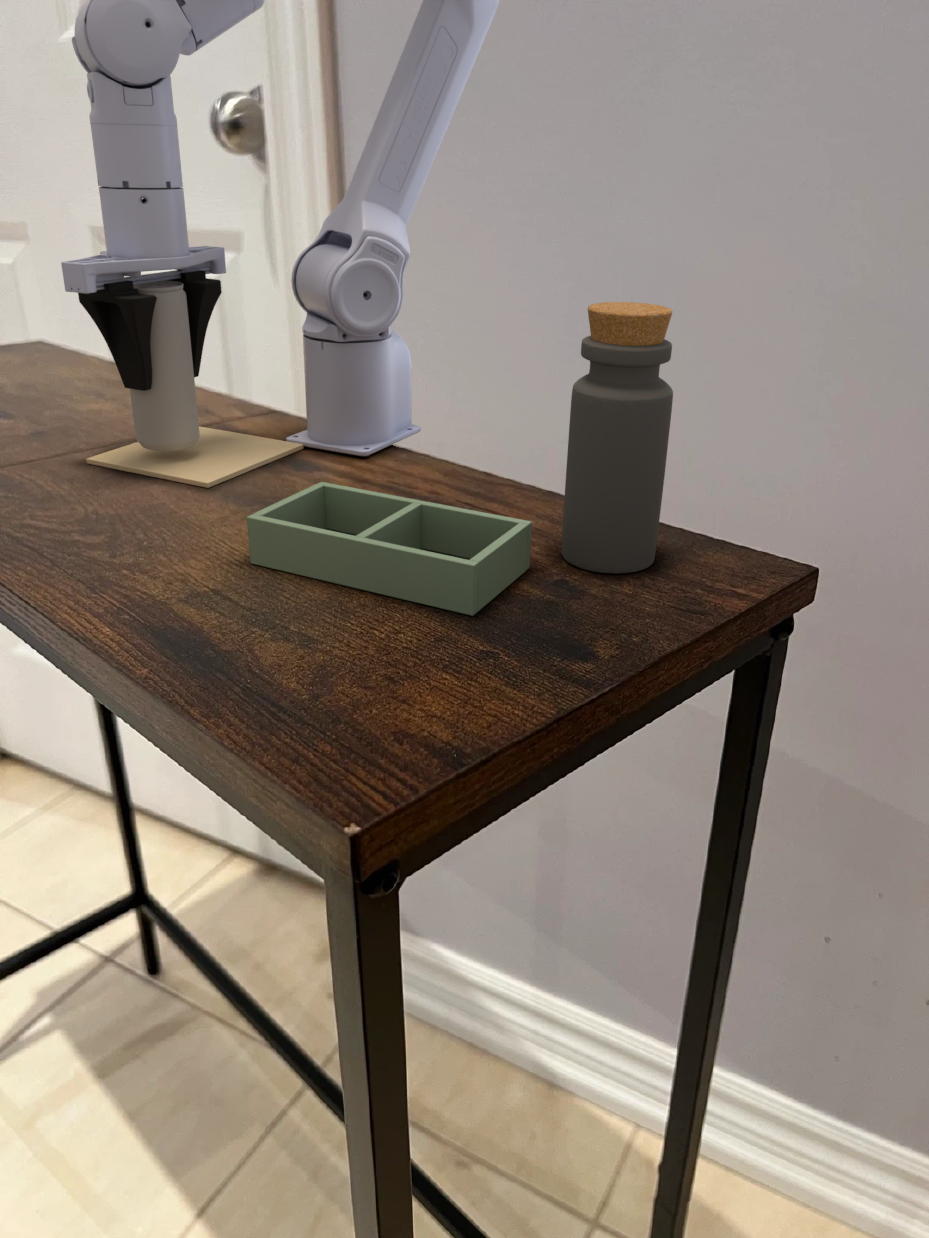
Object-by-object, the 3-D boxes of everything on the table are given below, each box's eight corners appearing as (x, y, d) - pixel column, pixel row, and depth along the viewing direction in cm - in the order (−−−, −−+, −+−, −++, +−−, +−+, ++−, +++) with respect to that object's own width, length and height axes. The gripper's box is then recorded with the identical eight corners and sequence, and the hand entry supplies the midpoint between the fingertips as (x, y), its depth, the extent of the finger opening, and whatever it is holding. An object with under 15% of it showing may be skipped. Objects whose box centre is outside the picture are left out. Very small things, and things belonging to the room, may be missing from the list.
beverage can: (128, 441, 78) (107, 282, 73) (186, 433, 80) (170, 278, 75) (149, 456, 74) (129, 290, 69) (210, 447, 77) (195, 286, 72)
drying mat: (190, 429, 86) (190, 424, 86) (303, 448, 82) (303, 444, 81) (86, 463, 77) (85, 458, 77) (208, 488, 72) (207, 482, 72)
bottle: (608, 533, 65) (629, 297, 59) (674, 561, 61) (705, 310, 55) (541, 551, 62) (555, 304, 56) (606, 582, 58) (629, 319, 51)
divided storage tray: (323, 524, 66) (321, 481, 64) (530, 567, 60) (532, 521, 58) (249, 563, 59) (246, 516, 58) (472, 616, 53) (474, 565, 52)
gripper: (168, 183, 77) (186, 360, 83) (16, 188, 65) (49, 393, 71) (241, 187, 74) (254, 369, 80) (96, 192, 62) (123, 406, 68)
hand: (163, 382), depth 75 cm, fingers closed on beverage can, 5 cm apart
